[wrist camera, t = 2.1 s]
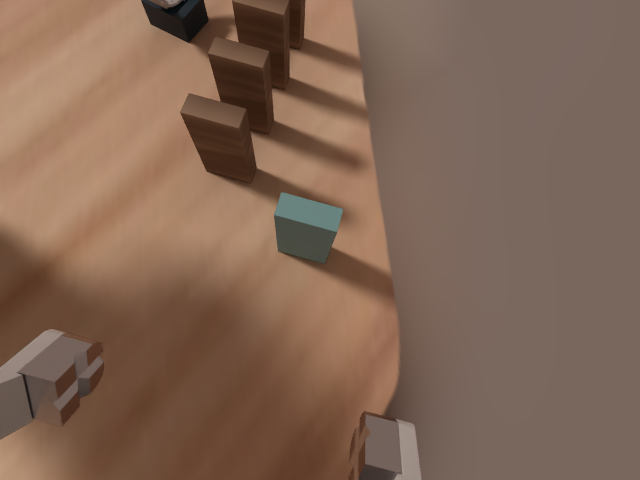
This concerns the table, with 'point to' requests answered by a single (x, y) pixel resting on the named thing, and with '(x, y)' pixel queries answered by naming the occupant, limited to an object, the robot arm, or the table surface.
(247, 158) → the walnut domino
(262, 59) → the walnut domino
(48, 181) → the table surface
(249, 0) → the walnut domino
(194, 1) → the watch
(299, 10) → the walnut domino
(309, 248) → the teal domino
